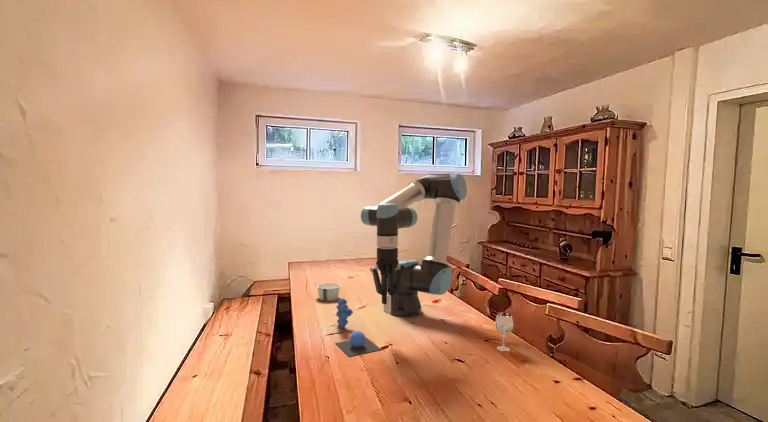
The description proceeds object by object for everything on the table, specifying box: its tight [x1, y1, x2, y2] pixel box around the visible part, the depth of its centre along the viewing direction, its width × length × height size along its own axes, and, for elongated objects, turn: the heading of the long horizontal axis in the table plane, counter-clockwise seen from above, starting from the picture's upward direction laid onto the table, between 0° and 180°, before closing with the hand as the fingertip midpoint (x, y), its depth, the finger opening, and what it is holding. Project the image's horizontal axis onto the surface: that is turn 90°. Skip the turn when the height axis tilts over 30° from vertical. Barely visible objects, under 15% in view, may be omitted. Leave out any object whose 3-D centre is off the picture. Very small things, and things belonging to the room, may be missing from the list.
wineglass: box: [495, 312, 514, 353], centre depth 129 cm, size 6×6×12 cm
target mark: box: [334, 336, 382, 358], centre depth 129 cm, size 12×12×1 cm
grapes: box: [335, 298, 354, 329], centre depth 147 cm, size 12×7×12 cm, turn 18°
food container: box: [316, 282, 342, 302], centre depth 188 cm, size 12×12×6 cm
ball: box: [349, 330, 367, 348], centre depth 129 cm, size 6×6×6 cm
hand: (387, 312), depth 134 cm, fingers closed
